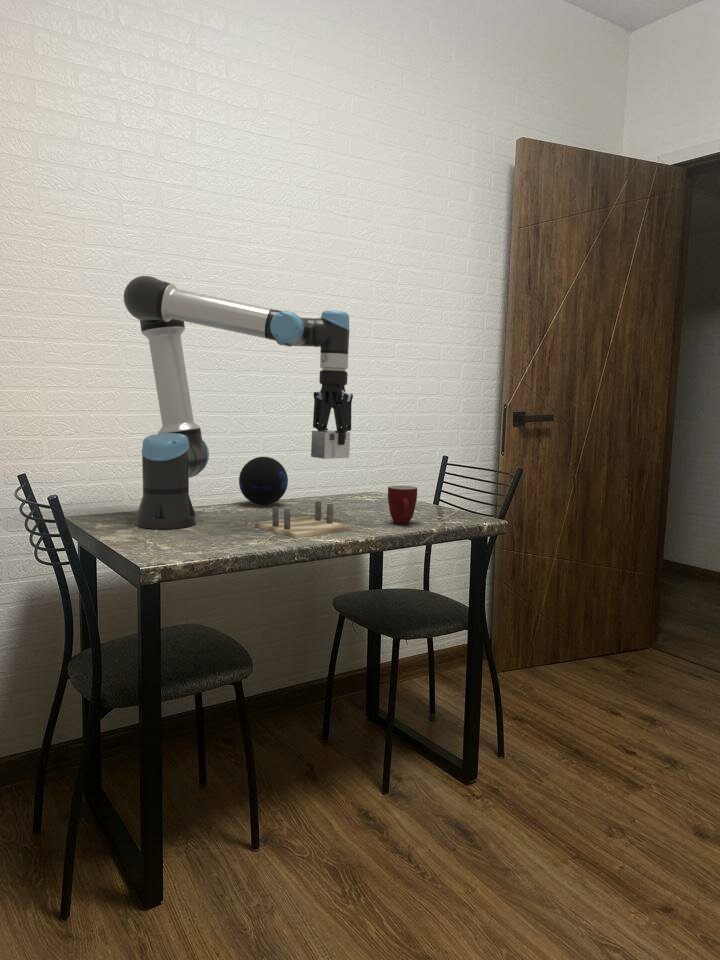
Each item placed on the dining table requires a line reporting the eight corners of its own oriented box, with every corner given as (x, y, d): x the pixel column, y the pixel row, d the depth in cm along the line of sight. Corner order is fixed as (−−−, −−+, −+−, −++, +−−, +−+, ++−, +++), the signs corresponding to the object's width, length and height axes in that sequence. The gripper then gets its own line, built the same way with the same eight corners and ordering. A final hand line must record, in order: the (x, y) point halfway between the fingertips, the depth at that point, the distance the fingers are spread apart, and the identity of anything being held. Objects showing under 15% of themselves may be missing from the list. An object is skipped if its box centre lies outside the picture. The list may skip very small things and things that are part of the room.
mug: (423, 527, 197) (424, 490, 195) (394, 528, 195) (395, 490, 193) (410, 520, 207) (411, 485, 205) (383, 521, 205) (384, 485, 203)
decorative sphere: (288, 509, 221) (289, 459, 219) (238, 508, 219) (238, 459, 217) (286, 501, 236) (287, 454, 234) (239, 501, 234) (239, 454, 232)
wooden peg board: (254, 526, 192) (254, 503, 191) (308, 519, 204) (309, 498, 203) (296, 538, 179) (296, 513, 178) (351, 529, 191) (352, 507, 190)
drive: (310, 456, 198) (311, 430, 198) (335, 455, 205) (336, 430, 204) (324, 458, 194) (325, 432, 194) (349, 457, 201) (350, 432, 200)
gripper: (300, 368, 201) (298, 453, 204) (346, 369, 187) (343, 459, 190) (321, 370, 206) (318, 452, 209) (367, 371, 193) (364, 458, 195)
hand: (330, 455), depth 200 cm, fingers closed on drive, 6 cm apart
